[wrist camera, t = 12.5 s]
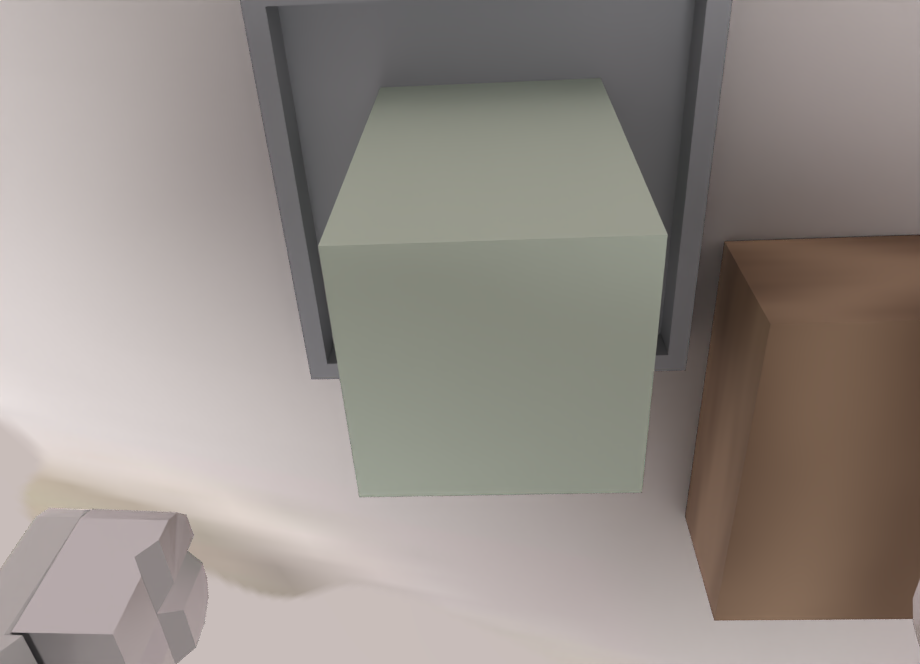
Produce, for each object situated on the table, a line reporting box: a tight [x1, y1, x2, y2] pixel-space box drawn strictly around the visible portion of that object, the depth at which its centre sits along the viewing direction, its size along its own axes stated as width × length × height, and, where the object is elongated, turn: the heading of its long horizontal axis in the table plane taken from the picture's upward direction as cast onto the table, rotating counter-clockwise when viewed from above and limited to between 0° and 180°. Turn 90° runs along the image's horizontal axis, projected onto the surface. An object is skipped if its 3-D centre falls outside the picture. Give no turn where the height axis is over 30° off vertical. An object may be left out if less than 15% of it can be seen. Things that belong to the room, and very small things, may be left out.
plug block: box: [318, 78, 668, 497], centre depth 16 cm, size 5×5×8 cm
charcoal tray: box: [240, 0, 732, 379], centre depth 19 cm, size 10×10×2 cm
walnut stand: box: [685, 235, 920, 620], centre depth 21 cm, size 10×10×4 cm
